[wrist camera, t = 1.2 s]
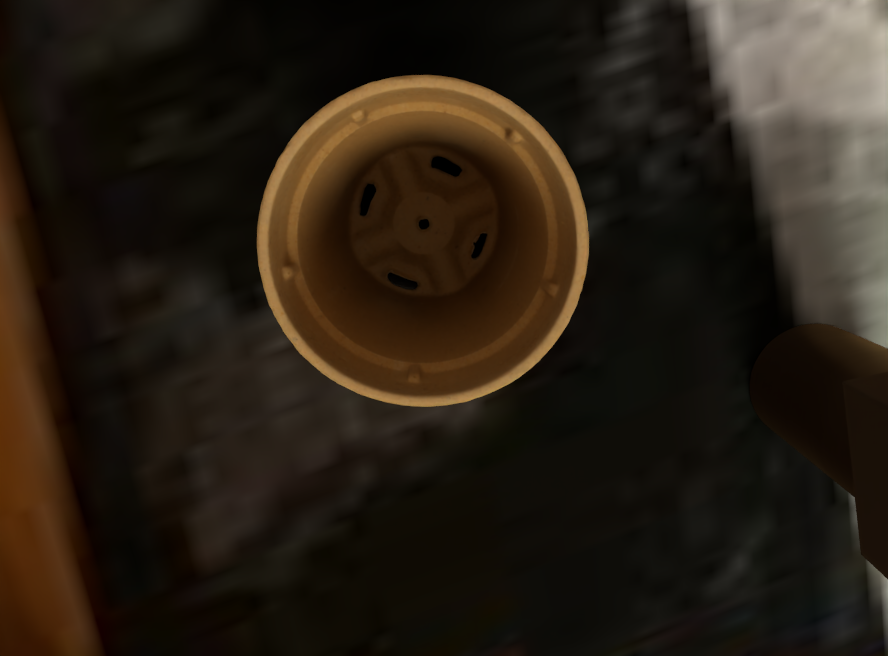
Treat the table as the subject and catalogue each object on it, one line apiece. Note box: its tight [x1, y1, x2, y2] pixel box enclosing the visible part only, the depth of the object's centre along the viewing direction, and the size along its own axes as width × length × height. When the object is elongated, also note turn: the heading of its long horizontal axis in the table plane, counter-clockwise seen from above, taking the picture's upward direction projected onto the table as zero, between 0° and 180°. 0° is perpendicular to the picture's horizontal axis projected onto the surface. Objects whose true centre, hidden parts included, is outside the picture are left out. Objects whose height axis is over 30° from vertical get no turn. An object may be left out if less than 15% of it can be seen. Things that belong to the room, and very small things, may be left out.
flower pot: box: [257, 75, 589, 407], centre depth 25 cm, size 9×9×9 cm
